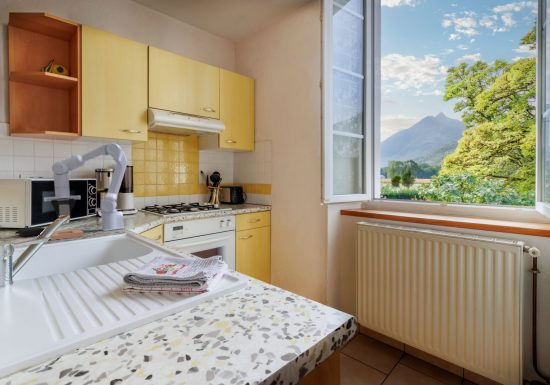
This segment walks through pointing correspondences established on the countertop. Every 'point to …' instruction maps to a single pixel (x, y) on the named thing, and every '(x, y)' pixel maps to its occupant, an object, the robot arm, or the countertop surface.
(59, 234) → the socket plate
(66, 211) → the charger block
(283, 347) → the countertop surface
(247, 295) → the countertop surface
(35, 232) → the carrying case or bag
